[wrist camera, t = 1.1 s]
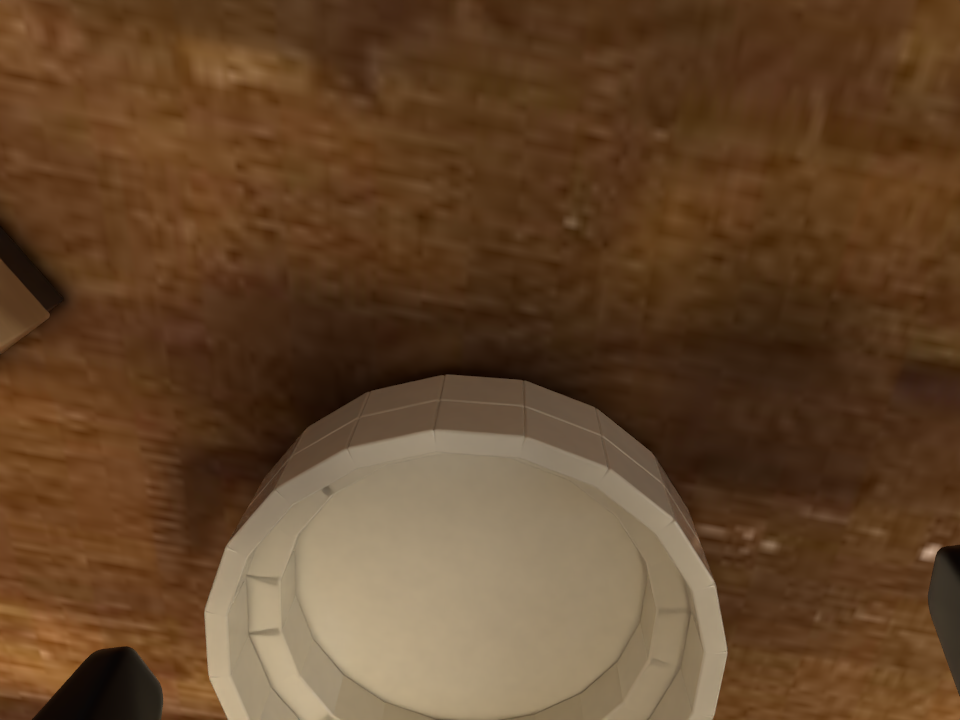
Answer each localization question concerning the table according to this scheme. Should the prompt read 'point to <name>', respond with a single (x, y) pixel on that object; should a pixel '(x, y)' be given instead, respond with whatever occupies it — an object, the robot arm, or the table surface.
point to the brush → (21, 294)
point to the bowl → (465, 569)
